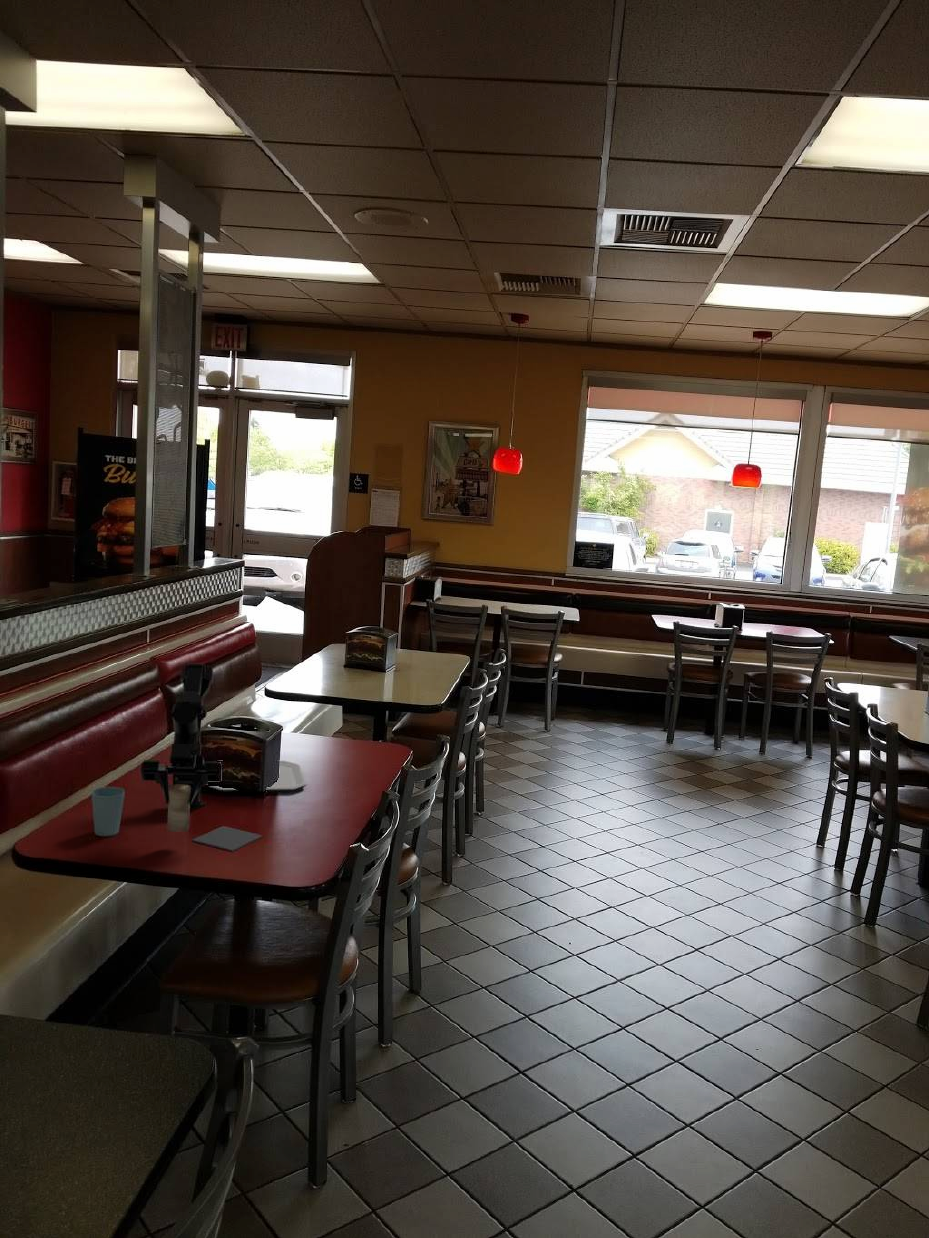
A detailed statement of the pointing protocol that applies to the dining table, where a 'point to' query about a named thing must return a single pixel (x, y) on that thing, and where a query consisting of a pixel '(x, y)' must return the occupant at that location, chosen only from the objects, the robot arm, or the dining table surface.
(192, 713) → the robot arm
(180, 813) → the beige cylinder
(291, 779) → the plate
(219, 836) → the placemat
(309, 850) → the dining table surface
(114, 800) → the cup
